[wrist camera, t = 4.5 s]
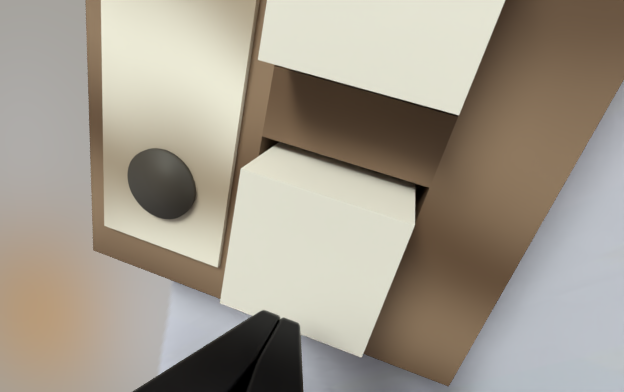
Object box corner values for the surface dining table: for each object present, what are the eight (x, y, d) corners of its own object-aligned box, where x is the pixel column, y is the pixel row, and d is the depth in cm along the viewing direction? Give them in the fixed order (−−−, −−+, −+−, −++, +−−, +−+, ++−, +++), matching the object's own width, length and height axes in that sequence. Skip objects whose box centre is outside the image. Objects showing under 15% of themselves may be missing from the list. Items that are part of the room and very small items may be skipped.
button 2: (373, 293, 13) (361, 358, 10) (258, 252, 14) (219, 303, 11) (415, 182, 11) (415, 225, 8) (281, 140, 12) (240, 168, 9)
